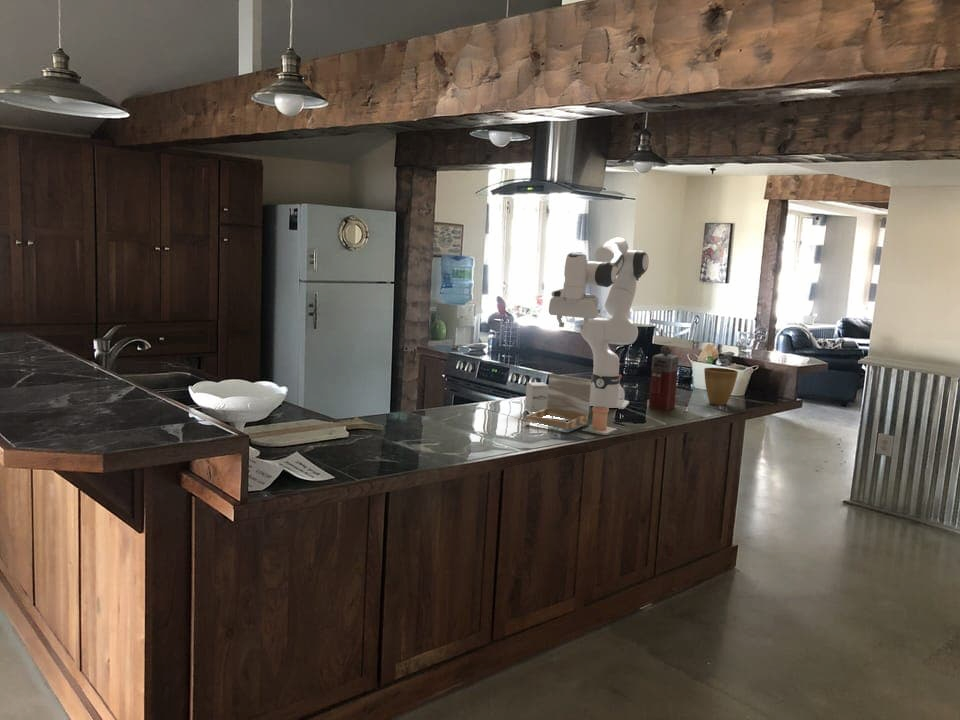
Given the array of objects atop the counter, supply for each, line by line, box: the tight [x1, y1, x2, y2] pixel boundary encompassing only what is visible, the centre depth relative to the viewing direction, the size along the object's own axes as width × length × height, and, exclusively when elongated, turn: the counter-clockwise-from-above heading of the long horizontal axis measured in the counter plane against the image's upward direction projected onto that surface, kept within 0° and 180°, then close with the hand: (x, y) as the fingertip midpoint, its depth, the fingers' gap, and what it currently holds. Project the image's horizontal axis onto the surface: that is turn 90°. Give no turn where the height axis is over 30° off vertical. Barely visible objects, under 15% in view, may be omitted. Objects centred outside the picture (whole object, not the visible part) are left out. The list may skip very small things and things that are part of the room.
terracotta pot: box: [591, 407, 610, 431], centre depth 296 cm, size 6×6×8 cm
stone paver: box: [590, 424, 617, 433], centre depth 297 cm, size 10×10×1 cm
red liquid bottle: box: [648, 344, 679, 411], centre depth 344 cm, size 9×11×28 cm
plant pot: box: [703, 367, 739, 406], centre depth 359 cm, size 15×15×16 cm
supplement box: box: [524, 381, 549, 412], centre depth 322 cm, size 7×7×13 cm
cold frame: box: [525, 373, 592, 429], centre depth 303 cm, size 19×18×18 cm
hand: (572, 328), depth 310 cm, fingers open, 8 cm apart
